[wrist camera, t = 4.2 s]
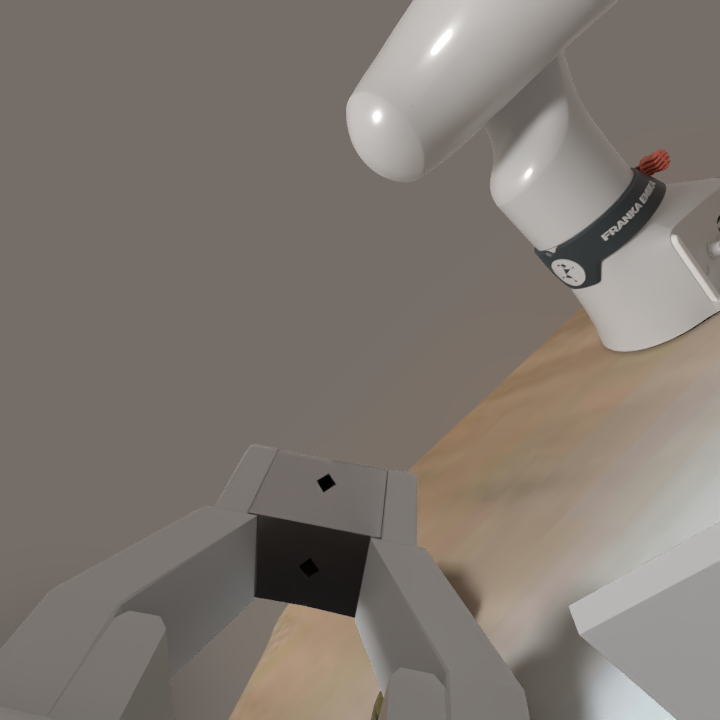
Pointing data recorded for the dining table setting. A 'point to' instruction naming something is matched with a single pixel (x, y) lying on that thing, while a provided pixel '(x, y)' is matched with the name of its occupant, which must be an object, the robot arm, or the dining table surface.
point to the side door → (664, 626)
